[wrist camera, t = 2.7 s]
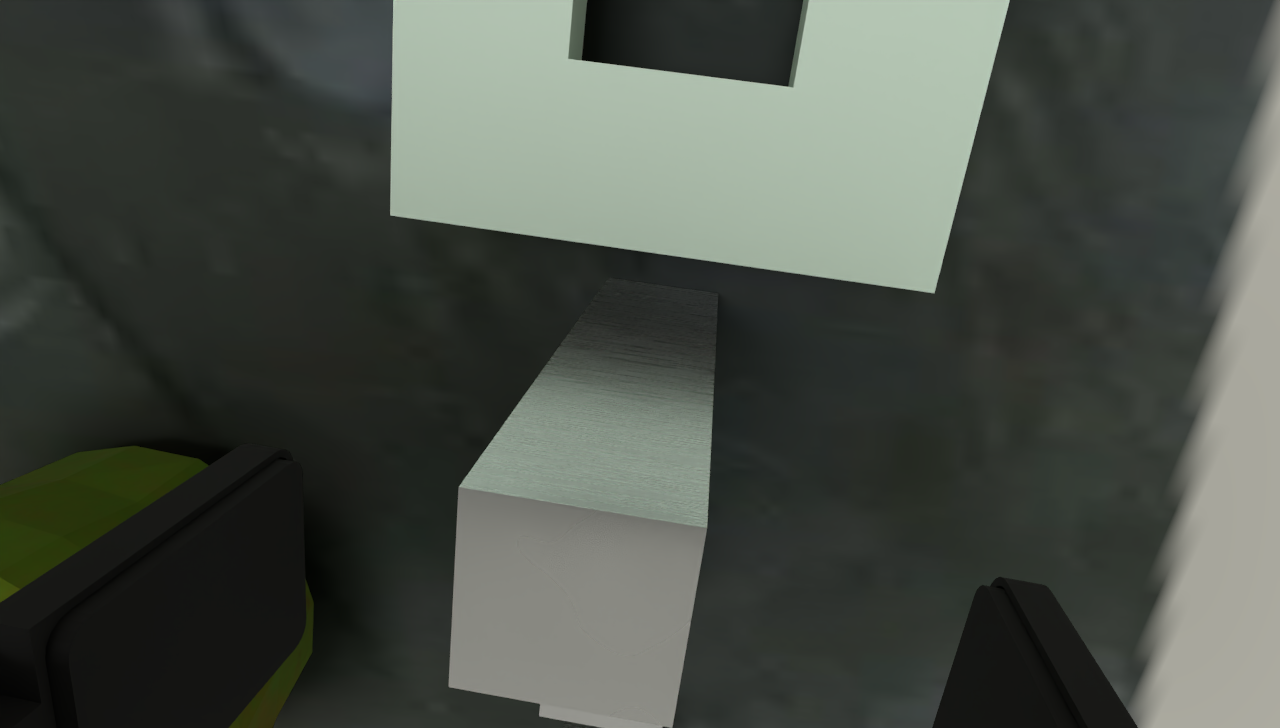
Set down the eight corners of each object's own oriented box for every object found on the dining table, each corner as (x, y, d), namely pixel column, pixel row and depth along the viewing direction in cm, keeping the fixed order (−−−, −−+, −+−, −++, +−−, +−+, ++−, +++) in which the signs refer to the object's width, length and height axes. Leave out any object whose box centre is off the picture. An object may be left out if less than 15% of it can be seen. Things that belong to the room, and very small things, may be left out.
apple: (-33, 501, 27) (-527, 753, 16) (201, 330, 24) (-222, 506, 13) (198, 748, 30) (-97, 1105, 19) (437, 624, 27) (243, 969, 16)
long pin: (701, 396, 23) (672, 727, 11) (597, 380, 23) (448, 686, 11) (718, 293, 22) (707, 528, 9) (608, 277, 22) (458, 486, 10)
